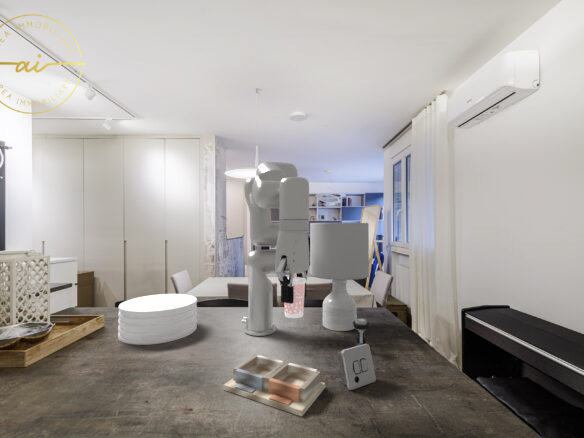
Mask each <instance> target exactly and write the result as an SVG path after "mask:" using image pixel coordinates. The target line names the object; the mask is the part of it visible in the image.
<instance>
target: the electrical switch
mask: <svg viewBox="0 0 584 438" xmlns="http://www.w3.org/2000/svg"><path fill="white" fill-rule="evenodd" d="M336 352H337V359H338V365H339V371H340V377H341V382H342V385H344V386H346V387H347V389H348V390H349V391H354V390H356V389H359V388H361V387H364V386H366V385H369V384H371V383H375V382H376V381H377V377H376V376H377V375H376V373H375V366H374V361H373V355H372V352H371V346H370V344H368V343H365V344H363V345H358V346H357V345H355V346H353V347H349V348H345V349H342V350H341V351H336Z"/></svg>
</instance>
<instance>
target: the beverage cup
mask: <svg viewBox="0 0 584 438" xmlns="http://www.w3.org/2000/svg"><path fill="white" fill-rule="evenodd" d="M287 278H288V280H289V276H287ZM305 283H306V284H307V281H306V279H305V278H301V277H295V274H294V277H293V282H292V286H294V302H293V303H292V304H290V303H283V304H284V305H283V306H284V316H285V317H286V318H288V319H300V318H303V317H304V308H305V298H304V293H305Z"/></svg>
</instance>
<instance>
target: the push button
mask: <svg viewBox="0 0 584 438" xmlns="http://www.w3.org/2000/svg"><path fill="white" fill-rule="evenodd" d="M353 324H354V328H355V330H357V338H356V346H359V345H363V344H367V339H366V338H365V331H367V330H368V329H369V328H370V322H369V321H368V320H367V319H366V318H362V317H359V318H358V317H357V319H356V321H353Z"/></svg>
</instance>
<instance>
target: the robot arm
mask: <svg viewBox="0 0 584 438" xmlns="http://www.w3.org/2000/svg"><path fill="white" fill-rule="evenodd" d="M255 174H256V176H255V177H254V176H253V177H249V178H248V179H246V180H245V181H244V185H243V186H244V187H243V189H244V191H243V192H244V198H245V202H246V204H247V207H248V210H249V238H250V243H251V244H252V245H253V246H255V247H276V249H255V250H251V251H250V252H249V253H248V254H247V256H246V268H247V277H248V278H247V279H248V316H245V315H244V316H243V317H242V319H241V320H240V322H241V323H242V324H245V326H244V329H243V331H244V333H245V334H246V335H249V336H254V337H264V336H265V337H266V336H269V335H273V334H274V333H276V331H277V329H278V328H277V326H276V325H275V324H274V323H273V317H274V316H273V314H274V313H273V310H274V308H273V307H274V306H273V304H274V303H273V298H274V297H273V296H274V295H273V292H274V291H273V290H274V287H273V283H272V280H270V278H269V277H267V276H268V275H272V274H274V275H276V277H277V279H278V281H279V286H280V302H281V303H283V304H284V303H290V304H292V303H293V302H294V286H292V282H293V277H294V274H295V277H301V278H305V279H306V283H305V293H304V299H305V298H306V297H307V281H308V277H307V276H308V272H309V270H310V269H309V268H310V244H309V243H310V242H309V241H310V240H309V234H310V183H309V180H308V179H307V178H306V177H301V176H299V174H298V169H297V167H296V165H295V164H293V163H290V162H279V161H264V162H262V163H261V164H259V165H258V167H257V168H256V171H255ZM271 209H277V210H279V211H278V212H279V213H278V215H279V216H278V217H279V218H278V219H279V220H278V222H273V221H272V210H271ZM287 277H289V280H288V278H287Z"/></svg>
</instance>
